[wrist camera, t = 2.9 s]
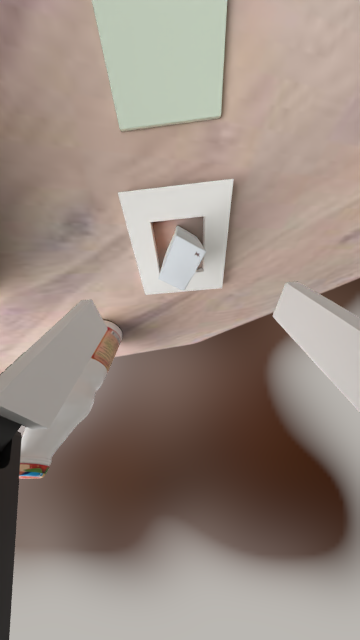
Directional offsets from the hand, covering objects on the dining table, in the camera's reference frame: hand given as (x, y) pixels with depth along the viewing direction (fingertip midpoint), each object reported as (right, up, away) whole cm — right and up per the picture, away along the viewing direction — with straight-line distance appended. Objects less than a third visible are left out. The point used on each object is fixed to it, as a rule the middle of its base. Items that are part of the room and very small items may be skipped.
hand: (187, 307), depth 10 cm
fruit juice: (-22, -4, +30) cm, 38 cm away
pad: (-2, +30, +4) cm, 30 cm away
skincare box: (-1, +13, +17) cm, 22 cm away
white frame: (-1, +13, +17) cm, 22 cm away
